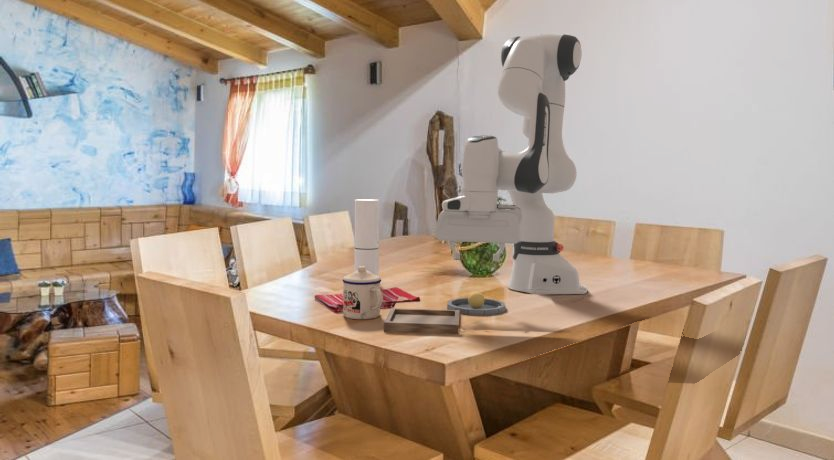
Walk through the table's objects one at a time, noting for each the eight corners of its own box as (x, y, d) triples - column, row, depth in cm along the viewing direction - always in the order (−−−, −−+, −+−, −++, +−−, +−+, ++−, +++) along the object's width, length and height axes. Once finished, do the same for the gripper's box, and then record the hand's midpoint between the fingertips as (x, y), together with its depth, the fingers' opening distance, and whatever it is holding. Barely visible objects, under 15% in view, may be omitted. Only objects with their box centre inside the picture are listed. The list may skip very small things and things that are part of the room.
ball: (484, 306, 161) (484, 290, 161) (484, 310, 157) (484, 294, 157) (467, 306, 162) (468, 290, 161) (467, 309, 158) (468, 293, 157)
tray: (459, 318, 153) (459, 310, 153) (458, 334, 139) (458, 324, 139) (391, 316, 154) (391, 308, 154) (383, 331, 140) (384, 322, 140)
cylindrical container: (380, 282, 198) (380, 199, 195) (376, 286, 191) (376, 200, 188) (356, 281, 199) (357, 199, 196) (352, 285, 192) (352, 200, 189)
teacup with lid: (334, 314, 155) (334, 266, 154) (365, 309, 161) (365, 262, 160) (365, 324, 146) (365, 273, 145) (396, 318, 152) (397, 269, 151)
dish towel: (422, 307, 167) (422, 297, 167) (334, 315, 157) (334, 304, 157) (396, 294, 182) (396, 285, 182) (313, 301, 172) (313, 291, 172)
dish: (503, 306, 166) (503, 298, 166) (506, 320, 152) (506, 310, 152) (448, 305, 167) (448, 296, 167) (446, 318, 153) (446, 308, 153)
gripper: (521, 204, 159) (518, 260, 160) (437, 201, 161) (435, 257, 162) (523, 205, 153) (520, 264, 154) (436, 202, 154) (434, 260, 156)
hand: (476, 260), depth 158 cm, fingers open, 8 cm apart
